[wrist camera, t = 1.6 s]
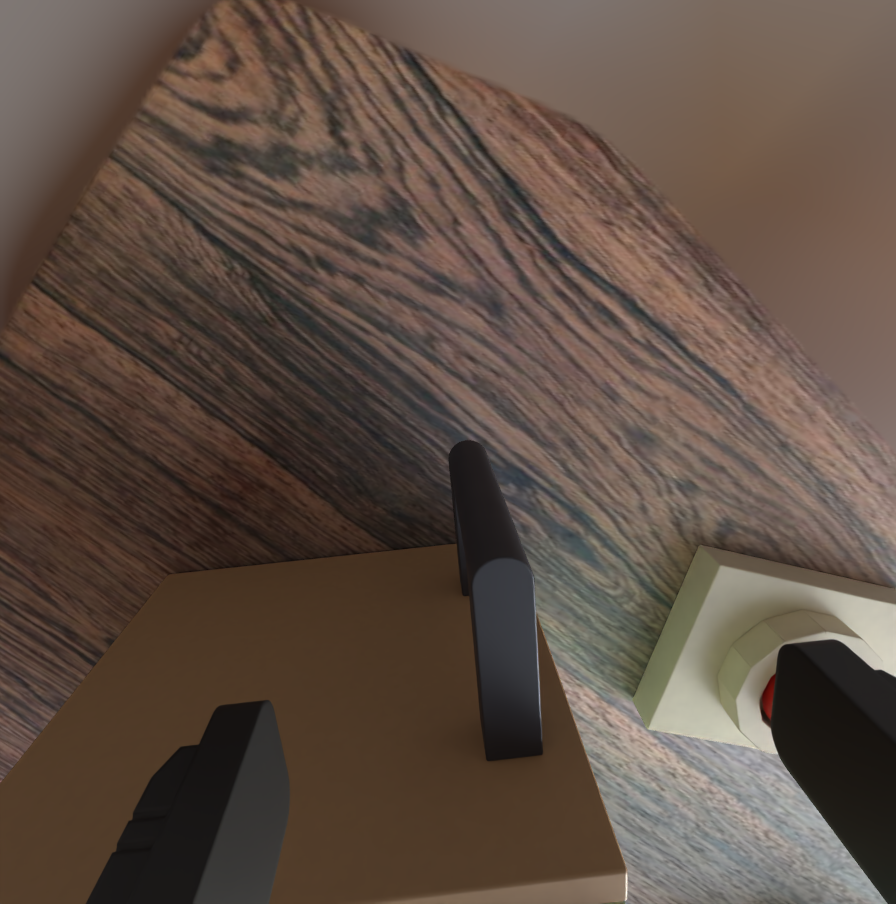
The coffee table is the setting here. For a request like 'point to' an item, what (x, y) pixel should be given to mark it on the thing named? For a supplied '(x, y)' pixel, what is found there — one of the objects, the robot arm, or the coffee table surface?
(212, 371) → the coffee table surface
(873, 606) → the switch block
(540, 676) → the cupboard door
